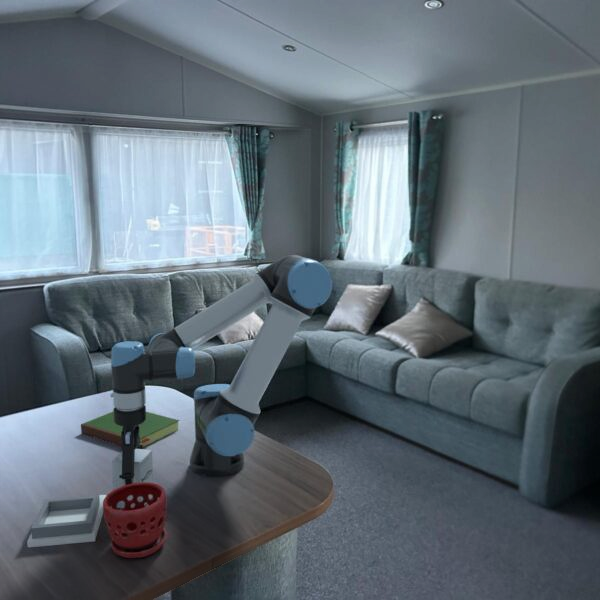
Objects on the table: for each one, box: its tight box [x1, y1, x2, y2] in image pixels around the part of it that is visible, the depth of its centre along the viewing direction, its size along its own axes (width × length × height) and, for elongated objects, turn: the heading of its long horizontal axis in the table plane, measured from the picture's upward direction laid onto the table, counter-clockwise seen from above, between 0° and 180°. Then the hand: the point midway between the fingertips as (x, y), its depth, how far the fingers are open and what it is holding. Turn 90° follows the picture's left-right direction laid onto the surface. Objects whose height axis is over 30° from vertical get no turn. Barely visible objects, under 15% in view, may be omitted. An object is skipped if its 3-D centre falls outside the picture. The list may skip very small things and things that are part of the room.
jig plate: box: [26, 494, 107, 548], centre depth 139 cm, size 14×18×4 cm
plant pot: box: [103, 482, 168, 559], centre depth 129 cm, size 13×13×12 cm
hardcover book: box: [80, 411, 180, 448], centre depth 191 cm, size 25×19×4 cm
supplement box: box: [111, 448, 154, 509], centre depth 148 cm, size 7×7×13 cm
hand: (132, 487), depth 148 cm, fingers open, 13 cm apart
